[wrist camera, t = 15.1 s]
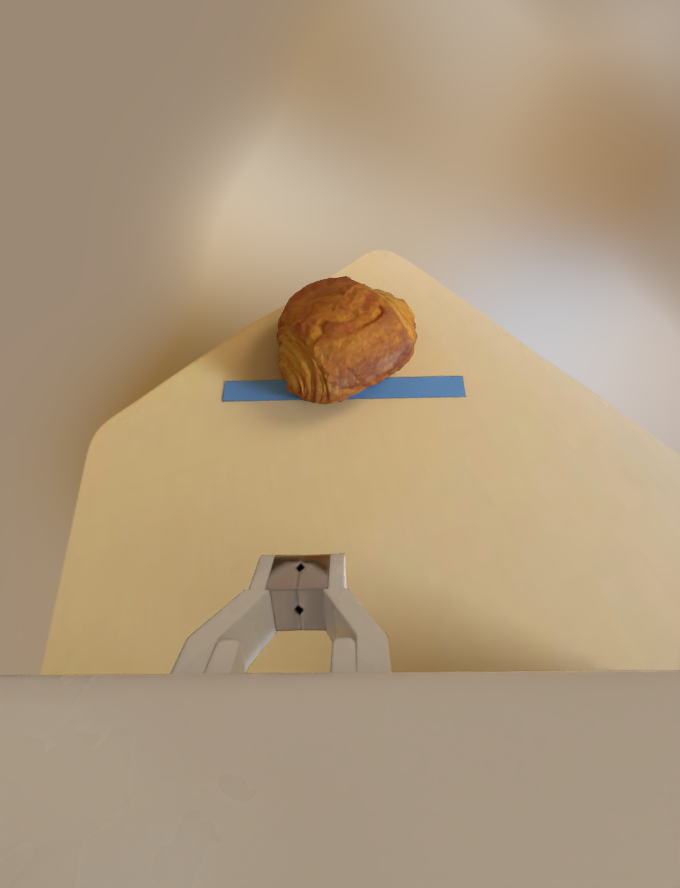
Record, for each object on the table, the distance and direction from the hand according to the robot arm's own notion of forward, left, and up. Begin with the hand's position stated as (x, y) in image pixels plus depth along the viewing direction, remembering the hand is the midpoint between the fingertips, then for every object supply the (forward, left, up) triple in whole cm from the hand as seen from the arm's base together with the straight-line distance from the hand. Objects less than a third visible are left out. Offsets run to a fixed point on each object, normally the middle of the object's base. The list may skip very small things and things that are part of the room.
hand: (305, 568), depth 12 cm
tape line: (+17, -8, -19) cm, 27 cm away
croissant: (+22, -9, -19) cm, 31 cm away
